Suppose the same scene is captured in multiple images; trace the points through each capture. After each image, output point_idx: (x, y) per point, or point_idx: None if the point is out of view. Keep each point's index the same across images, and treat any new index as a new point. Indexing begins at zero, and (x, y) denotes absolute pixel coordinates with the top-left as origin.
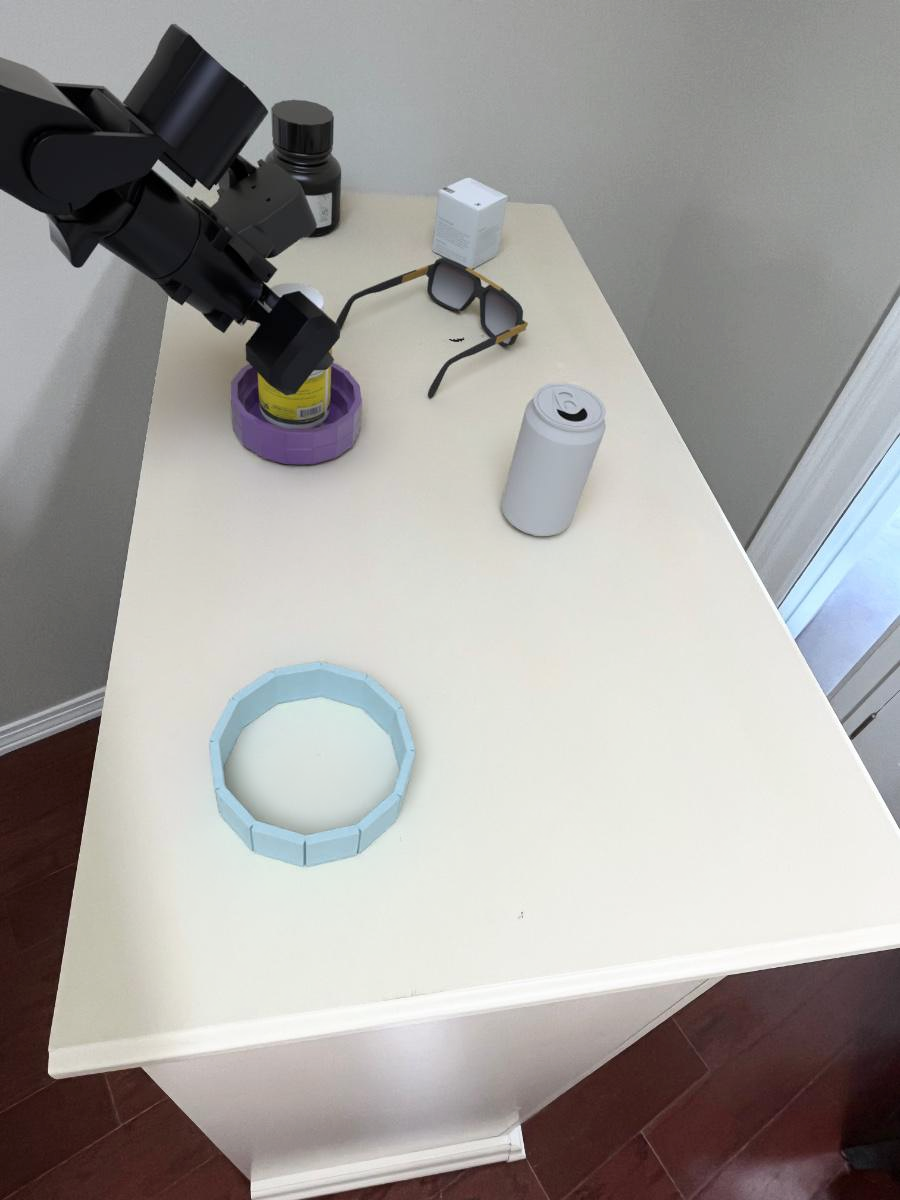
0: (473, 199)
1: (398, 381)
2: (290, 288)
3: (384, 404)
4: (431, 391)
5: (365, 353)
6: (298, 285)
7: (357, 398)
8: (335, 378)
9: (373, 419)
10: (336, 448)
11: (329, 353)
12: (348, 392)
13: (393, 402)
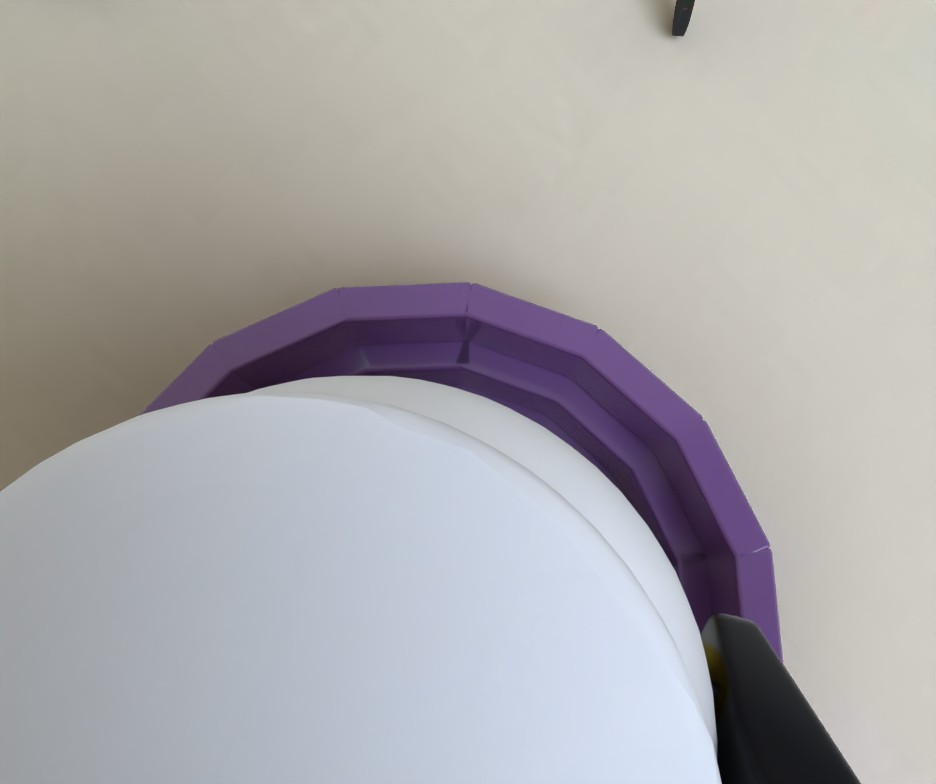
0: None
1: (502, 45)
2: (26, 677)
3: (572, 205)
4: (690, 10)
5: (269, 7)
6: (56, 521)
7: (678, 423)
8: (416, 334)
9: (613, 316)
10: None
11: (825, 732)
12: (528, 357)
13: (588, 166)
